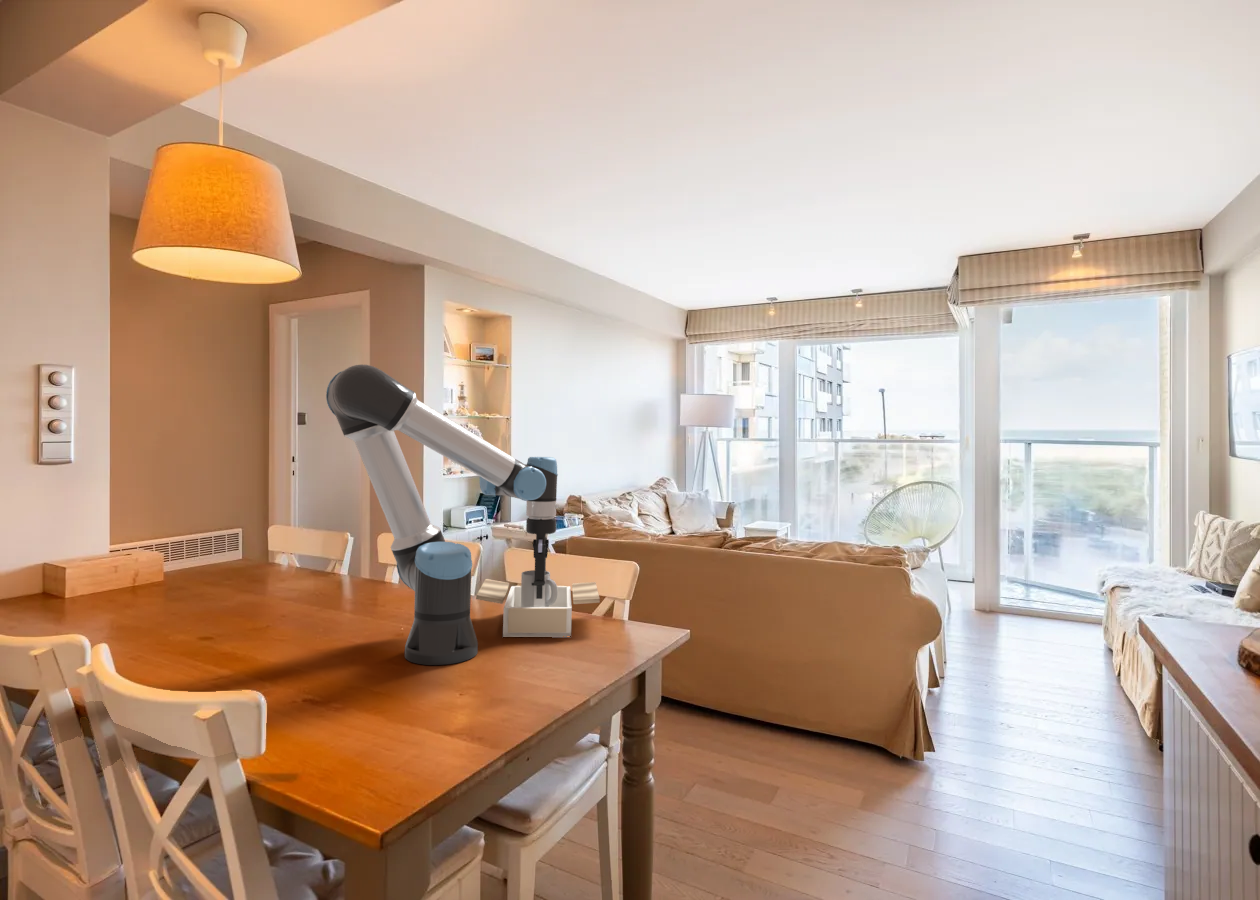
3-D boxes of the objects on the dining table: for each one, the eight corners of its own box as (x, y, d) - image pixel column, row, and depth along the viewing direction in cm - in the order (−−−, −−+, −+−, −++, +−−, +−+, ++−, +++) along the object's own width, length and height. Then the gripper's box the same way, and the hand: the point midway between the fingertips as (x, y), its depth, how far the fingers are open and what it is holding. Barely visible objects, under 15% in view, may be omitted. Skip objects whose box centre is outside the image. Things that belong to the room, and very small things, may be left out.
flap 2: (573, 600, 160) (573, 604, 160) (599, 598, 160) (599, 602, 161) (571, 583, 179) (572, 587, 179) (595, 582, 179) (595, 585, 179)
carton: (571, 638, 157) (571, 608, 157) (502, 638, 155) (503, 608, 155) (569, 611, 182) (570, 585, 182) (510, 611, 180) (511, 585, 180)
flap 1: (476, 594, 157) (475, 599, 157) (503, 599, 158) (502, 603, 158) (485, 578, 176) (485, 582, 176) (509, 583, 177) (508, 586, 177)
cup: (531, 603, 173) (531, 569, 173) (564, 607, 169) (564, 573, 169) (515, 609, 167) (515, 574, 167) (549, 614, 162) (549, 578, 162)
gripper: (555, 522, 159) (553, 617, 159) (556, 513, 179) (554, 597, 179) (524, 522, 158) (522, 617, 158) (528, 512, 178) (526, 597, 178)
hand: (539, 606), depth 169 cm, fingers closed on cup, 7 cm apart
